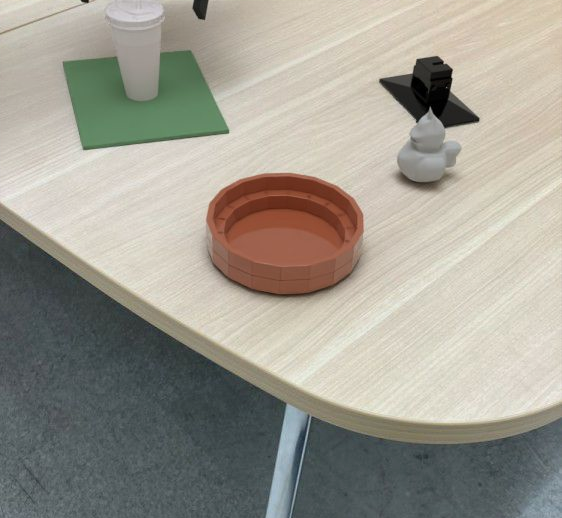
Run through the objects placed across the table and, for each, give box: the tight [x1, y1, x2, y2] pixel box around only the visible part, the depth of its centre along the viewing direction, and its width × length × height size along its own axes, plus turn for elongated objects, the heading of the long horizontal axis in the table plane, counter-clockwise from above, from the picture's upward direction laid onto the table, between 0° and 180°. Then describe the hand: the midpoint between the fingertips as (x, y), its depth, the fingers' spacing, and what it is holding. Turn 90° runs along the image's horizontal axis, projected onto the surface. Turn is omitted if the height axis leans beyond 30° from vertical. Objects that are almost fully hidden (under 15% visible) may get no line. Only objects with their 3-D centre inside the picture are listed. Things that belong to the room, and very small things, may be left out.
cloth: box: [62, 49, 230, 150], centre depth 92 cm, size 16×20×1 cm
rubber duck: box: [396, 107, 462, 183], centre depth 80 cm, size 5×7×8 cm
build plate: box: [378, 55, 481, 129], centre depth 93 cm, size 12×7×5 cm, turn 22°
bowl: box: [205, 172, 365, 295], centre depth 73 cm, size 14×14×4 cm
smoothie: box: [104, 0, 166, 101], centre depth 87 cm, size 6×6×14 cm
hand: (138, 6), depth 86 cm, fingers open, 13 cm apart
